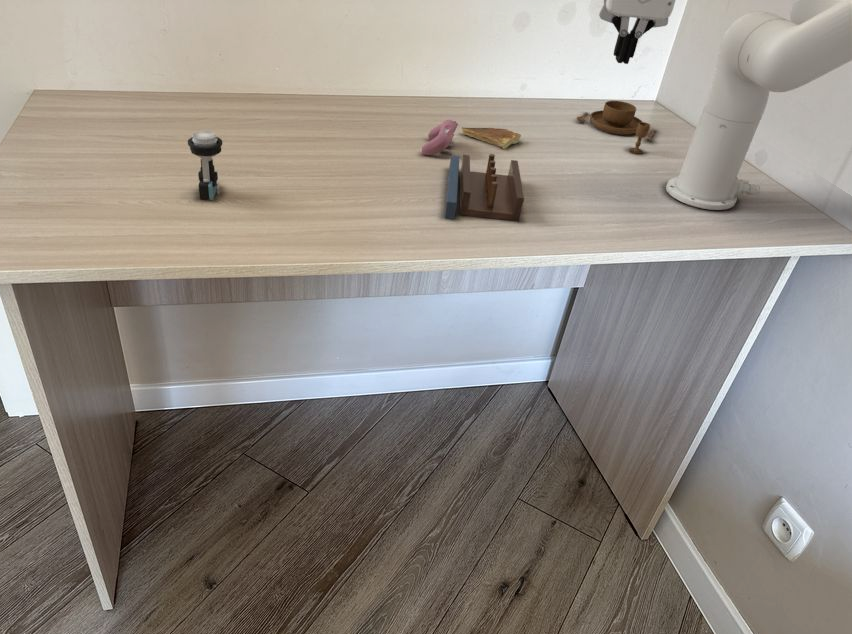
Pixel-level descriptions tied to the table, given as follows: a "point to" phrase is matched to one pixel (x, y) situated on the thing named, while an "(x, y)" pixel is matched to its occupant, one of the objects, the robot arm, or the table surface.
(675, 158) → the table surface
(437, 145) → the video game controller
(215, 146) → the push button
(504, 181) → the rack
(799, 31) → the robot arm
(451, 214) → the bar
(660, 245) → the table surface
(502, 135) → the golden brown flat wedge
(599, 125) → the place setting
